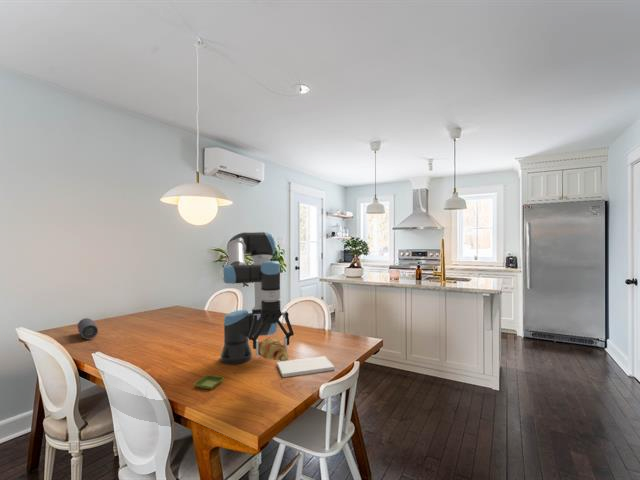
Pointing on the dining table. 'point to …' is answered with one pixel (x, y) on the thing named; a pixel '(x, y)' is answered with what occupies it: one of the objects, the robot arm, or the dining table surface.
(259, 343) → the croissant
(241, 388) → the dining table surface
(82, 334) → the bluetooth speaker
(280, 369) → the platter
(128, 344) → the dining table surface
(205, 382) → the saucer
